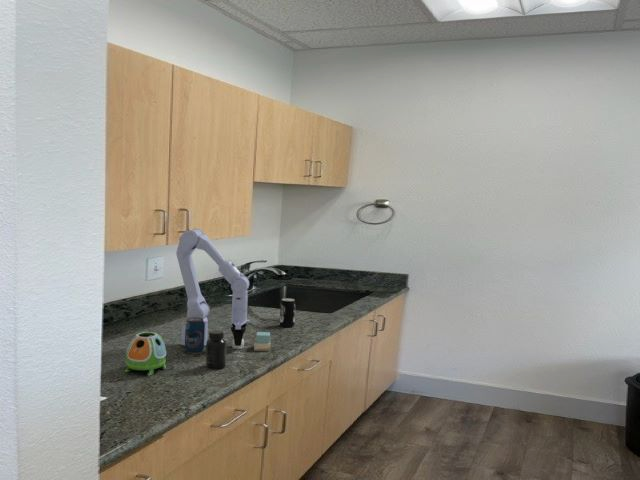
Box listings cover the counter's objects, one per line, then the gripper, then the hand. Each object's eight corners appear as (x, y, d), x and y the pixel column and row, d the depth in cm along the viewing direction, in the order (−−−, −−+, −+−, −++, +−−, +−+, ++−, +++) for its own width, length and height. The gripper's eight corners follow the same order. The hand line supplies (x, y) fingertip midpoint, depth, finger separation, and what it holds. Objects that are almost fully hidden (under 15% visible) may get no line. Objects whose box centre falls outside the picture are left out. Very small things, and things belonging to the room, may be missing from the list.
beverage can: (292, 328, 260) (293, 301, 259) (277, 326, 262) (279, 300, 260) (295, 325, 267) (297, 298, 266) (281, 323, 268) (282, 297, 267)
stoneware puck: (237, 349, 223) (237, 342, 222) (229, 347, 226) (230, 339, 225) (246, 347, 226) (246, 340, 226) (238, 345, 229) (238, 337, 229)
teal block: (269, 343, 224) (269, 335, 223) (256, 343, 223) (256, 335, 223) (269, 340, 229) (270, 332, 228) (256, 339, 228) (257, 331, 228)
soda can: (184, 354, 213) (185, 321, 212) (184, 349, 220) (185, 317, 219) (204, 354, 215) (205, 321, 214) (203, 348, 221) (204, 317, 220)
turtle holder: (177, 362, 204) (178, 327, 203) (154, 378, 186) (155, 341, 185) (143, 358, 206) (144, 324, 205) (117, 374, 188) (118, 337, 187)
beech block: (270, 351, 223) (270, 344, 223) (254, 351, 223) (254, 343, 222) (270, 347, 229) (270, 339, 229) (254, 347, 229) (254, 339, 228)
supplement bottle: (216, 362, 205) (217, 328, 204) (230, 366, 201) (231, 332, 200) (201, 366, 200) (202, 331, 199) (214, 371, 196) (215, 335, 195)
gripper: (249, 312, 218) (248, 349, 219) (250, 304, 232) (249, 339, 233) (230, 312, 217) (228, 348, 218) (232, 304, 231) (231, 338, 233)
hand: (238, 343), depth 226 cm, fingers open, 5 cm apart
